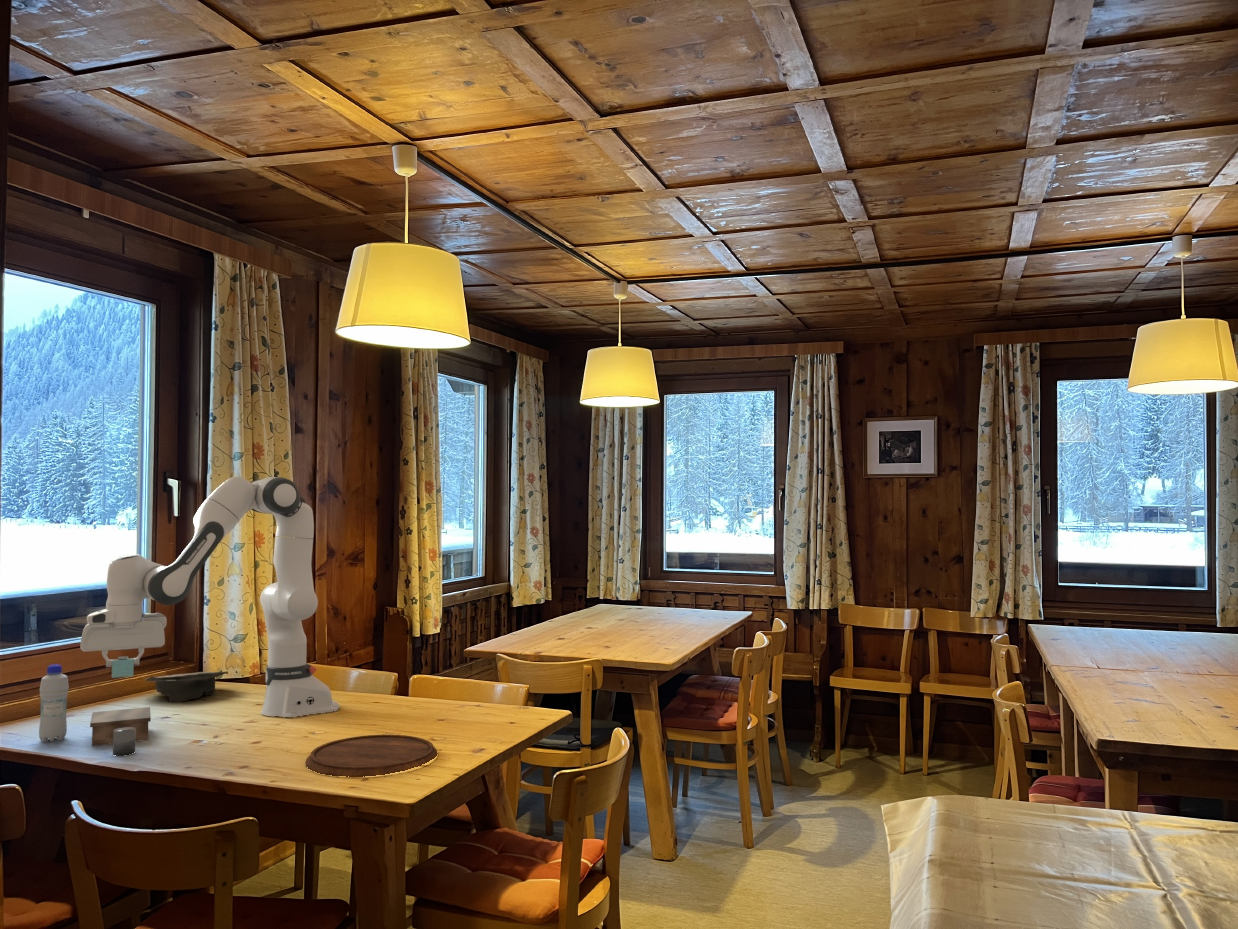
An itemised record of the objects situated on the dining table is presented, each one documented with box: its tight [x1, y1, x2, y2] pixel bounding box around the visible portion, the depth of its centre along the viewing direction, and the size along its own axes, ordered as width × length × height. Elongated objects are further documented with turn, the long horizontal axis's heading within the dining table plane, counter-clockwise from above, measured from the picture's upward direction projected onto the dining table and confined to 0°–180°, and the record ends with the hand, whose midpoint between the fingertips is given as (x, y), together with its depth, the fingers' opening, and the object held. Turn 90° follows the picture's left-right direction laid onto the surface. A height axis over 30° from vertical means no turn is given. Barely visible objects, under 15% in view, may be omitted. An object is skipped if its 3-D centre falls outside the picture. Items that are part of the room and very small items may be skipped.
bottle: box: [38, 664, 70, 743], centre depth 243 cm, size 7×7×20 cm
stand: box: [89, 706, 152, 747], centre depth 245 cm, size 14×14×6 cm
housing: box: [111, 655, 135, 679], centre depth 246 cm, size 5×9×5 cm, turn 29°
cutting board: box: [304, 734, 439, 777], centre depth 227 cm, size 32×32×2 cm
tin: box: [112, 727, 137, 757], centre depth 230 cm, size 5×5×6 cm
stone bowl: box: [144, 671, 229, 703], centre depth 297 cm, size 25×25×9 cm
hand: (122, 665), depth 246 cm, fingers closed on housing, 5 cm apart
